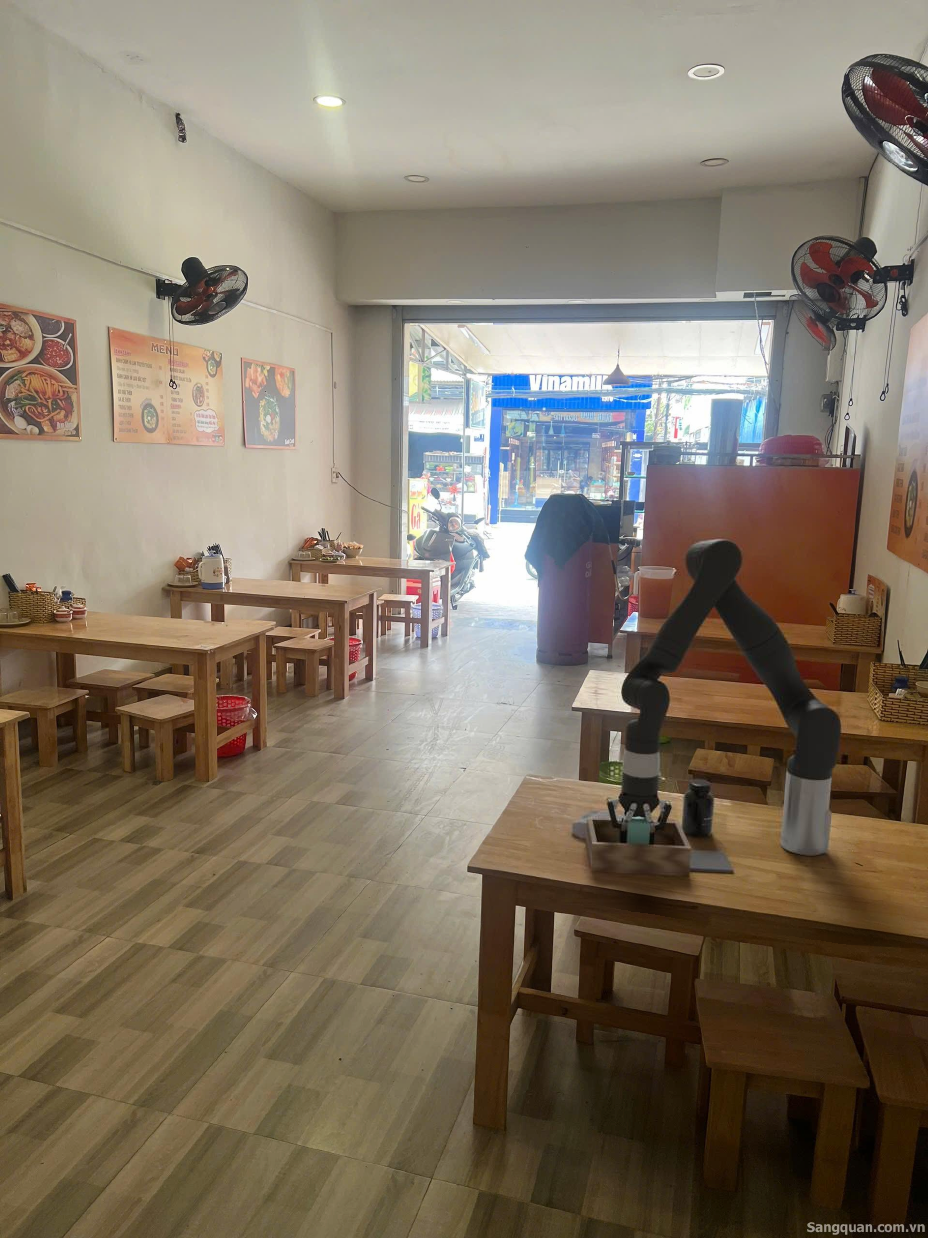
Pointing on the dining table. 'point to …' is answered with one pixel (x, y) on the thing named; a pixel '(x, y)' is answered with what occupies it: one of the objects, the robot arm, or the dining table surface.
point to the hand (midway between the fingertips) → (636, 846)
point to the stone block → (581, 824)
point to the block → (638, 831)
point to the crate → (637, 850)
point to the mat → (710, 861)
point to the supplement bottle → (698, 809)
